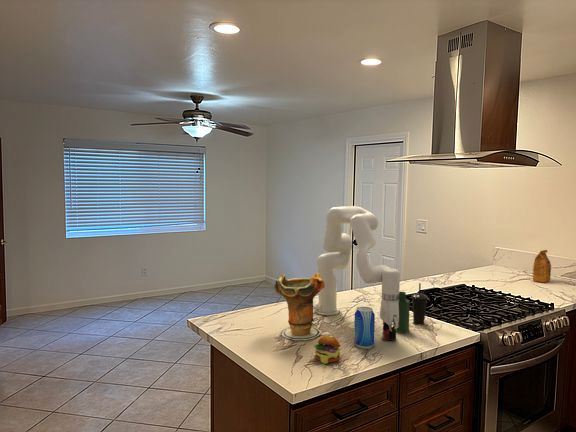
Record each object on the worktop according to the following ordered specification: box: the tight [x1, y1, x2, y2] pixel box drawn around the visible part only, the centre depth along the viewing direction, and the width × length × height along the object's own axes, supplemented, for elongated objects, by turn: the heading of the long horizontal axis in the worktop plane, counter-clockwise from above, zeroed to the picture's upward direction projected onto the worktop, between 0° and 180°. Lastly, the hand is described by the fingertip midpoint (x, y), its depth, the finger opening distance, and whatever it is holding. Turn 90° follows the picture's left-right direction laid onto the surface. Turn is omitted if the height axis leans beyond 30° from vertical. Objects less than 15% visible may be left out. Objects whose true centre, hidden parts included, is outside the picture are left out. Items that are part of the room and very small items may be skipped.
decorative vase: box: [273, 272, 325, 341], centre depth 188 cm, size 21×23×28 cm
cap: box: [382, 329, 396, 341], centre depth 183 cm, size 5×5×3 cm
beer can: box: [353, 306, 376, 350], centre depth 175 cm, size 8×8×16 cm
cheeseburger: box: [313, 335, 342, 364], centre depth 163 cm, size 10×11×10 cm
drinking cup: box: [411, 282, 429, 326], centre depth 203 cm, size 8×8×20 cm
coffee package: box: [532, 249, 552, 283], centre depth 288 cm, size 10×12×22 cm
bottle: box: [392, 291, 411, 334], centre depth 193 cm, size 7×7×18 cm
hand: (389, 336), depth 183 cm, fingers closed on cap, 5 cm apart
